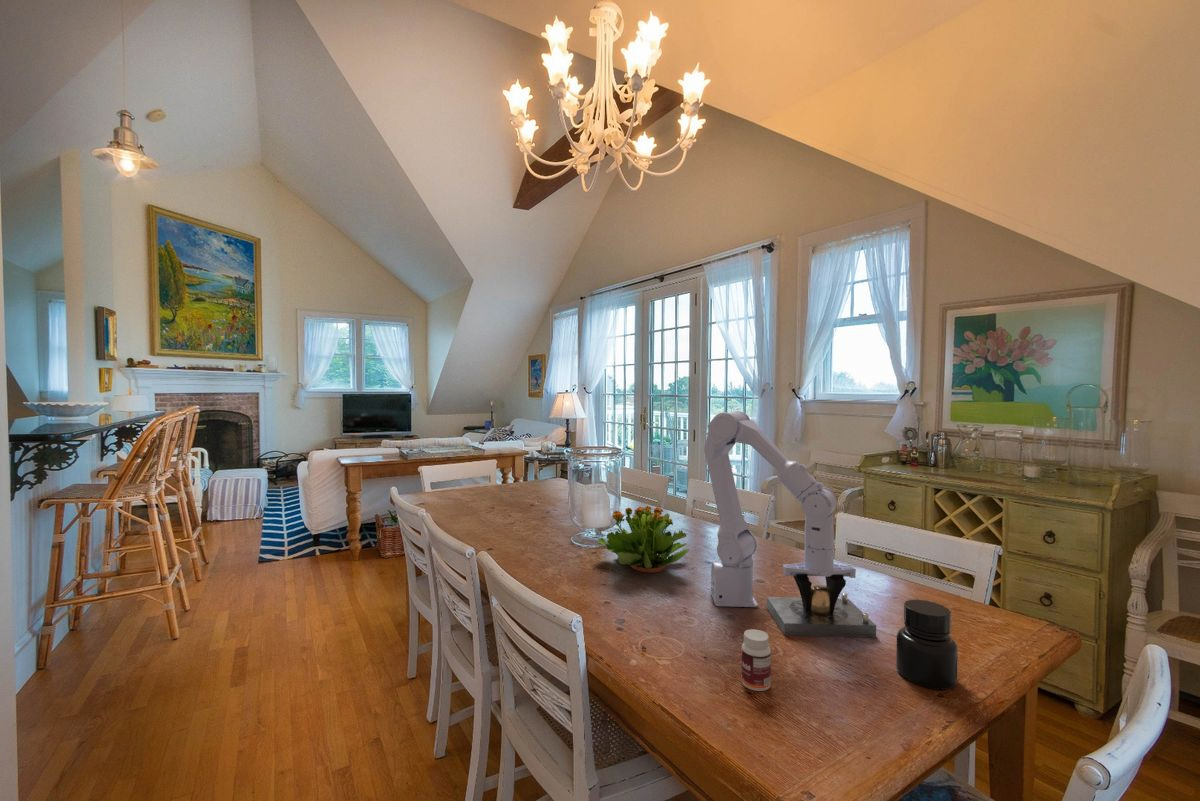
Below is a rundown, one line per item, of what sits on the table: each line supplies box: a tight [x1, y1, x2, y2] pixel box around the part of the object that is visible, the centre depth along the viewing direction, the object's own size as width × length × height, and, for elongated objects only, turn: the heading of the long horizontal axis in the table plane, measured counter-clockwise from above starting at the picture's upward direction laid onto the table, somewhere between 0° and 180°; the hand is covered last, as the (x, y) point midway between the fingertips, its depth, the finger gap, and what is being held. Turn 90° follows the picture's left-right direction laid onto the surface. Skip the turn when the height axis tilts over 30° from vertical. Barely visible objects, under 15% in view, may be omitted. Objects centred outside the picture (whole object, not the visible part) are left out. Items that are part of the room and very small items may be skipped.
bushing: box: [808, 583, 830, 617], centre depth 109 cm, size 4×4×6 cm
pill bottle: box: [740, 628, 772, 692], centre depth 86 cm, size 5×5×8 cm
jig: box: [766, 592, 877, 639], centre depth 109 cm, size 18×13×4 cm
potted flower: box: [597, 505, 690, 573], centre depth 142 cm, size 25×24×18 cm
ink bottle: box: [895, 599, 959, 690], centre depth 88 cm, size 10×9×12 cm
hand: (818, 609), depth 109 cm, fingers closed on bushing, 4 cm apart
